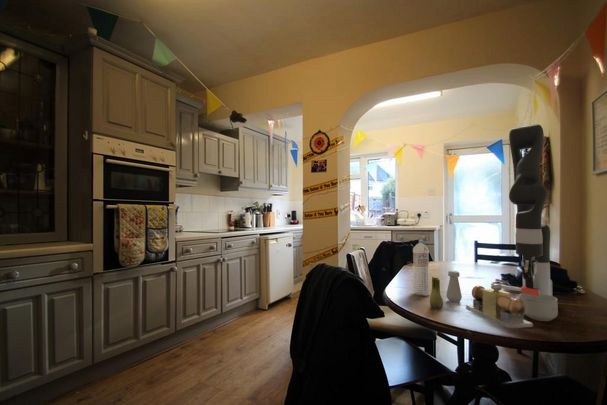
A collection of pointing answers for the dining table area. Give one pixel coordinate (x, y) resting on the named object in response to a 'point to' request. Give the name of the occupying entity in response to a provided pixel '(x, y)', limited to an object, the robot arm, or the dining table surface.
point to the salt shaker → (454, 287)
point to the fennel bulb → (436, 294)
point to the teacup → (540, 306)
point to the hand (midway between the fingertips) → (529, 290)
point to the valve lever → (516, 289)
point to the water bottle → (421, 269)
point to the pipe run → (499, 307)
